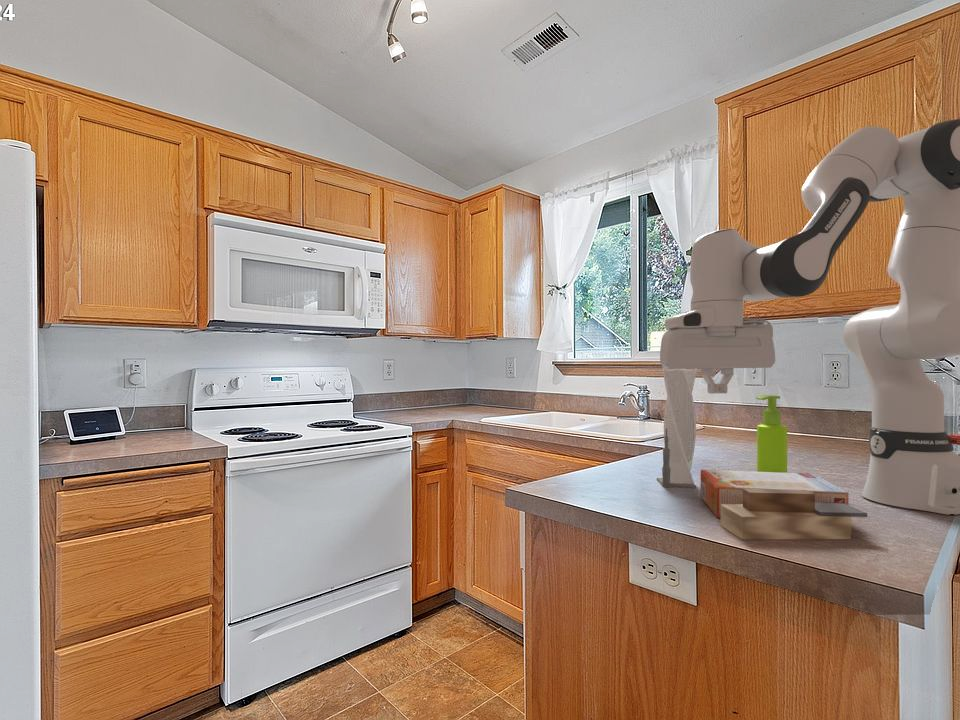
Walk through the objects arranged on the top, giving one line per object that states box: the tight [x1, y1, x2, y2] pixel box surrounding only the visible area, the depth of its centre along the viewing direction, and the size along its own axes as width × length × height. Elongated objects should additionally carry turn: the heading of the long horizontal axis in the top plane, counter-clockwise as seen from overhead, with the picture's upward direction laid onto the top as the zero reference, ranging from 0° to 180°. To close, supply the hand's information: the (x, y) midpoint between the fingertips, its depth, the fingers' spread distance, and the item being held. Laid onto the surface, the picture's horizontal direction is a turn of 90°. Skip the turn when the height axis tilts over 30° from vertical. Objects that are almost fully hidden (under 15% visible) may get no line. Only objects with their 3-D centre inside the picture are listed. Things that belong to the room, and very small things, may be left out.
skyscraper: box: [656, 367, 698, 489], centre depth 118 cm, size 8×8×28 cm
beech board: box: [720, 504, 852, 540], centre depth 84 cm, size 17×7×4 cm, turn 91°
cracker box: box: [699, 469, 849, 519], centre depth 96 cm, size 14×6×21 cm
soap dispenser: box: [755, 394, 788, 473], centre depth 116 cm, size 6×7×20 cm
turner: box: [743, 489, 868, 518], centre depth 84 cm, size 17×6×3 cm, turn 86°
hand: (717, 393), depth 96 cm, fingers closed
